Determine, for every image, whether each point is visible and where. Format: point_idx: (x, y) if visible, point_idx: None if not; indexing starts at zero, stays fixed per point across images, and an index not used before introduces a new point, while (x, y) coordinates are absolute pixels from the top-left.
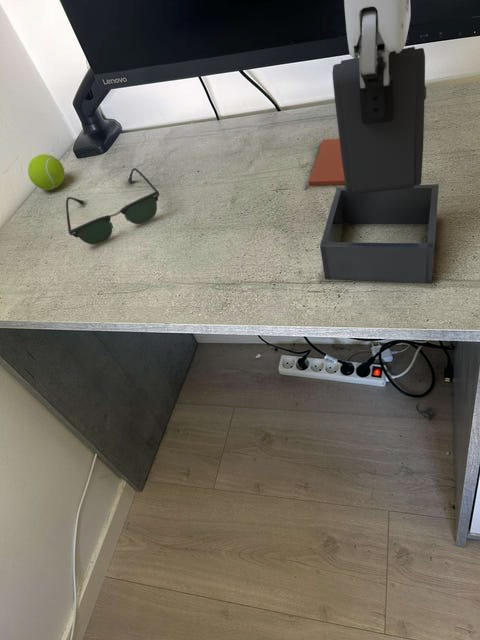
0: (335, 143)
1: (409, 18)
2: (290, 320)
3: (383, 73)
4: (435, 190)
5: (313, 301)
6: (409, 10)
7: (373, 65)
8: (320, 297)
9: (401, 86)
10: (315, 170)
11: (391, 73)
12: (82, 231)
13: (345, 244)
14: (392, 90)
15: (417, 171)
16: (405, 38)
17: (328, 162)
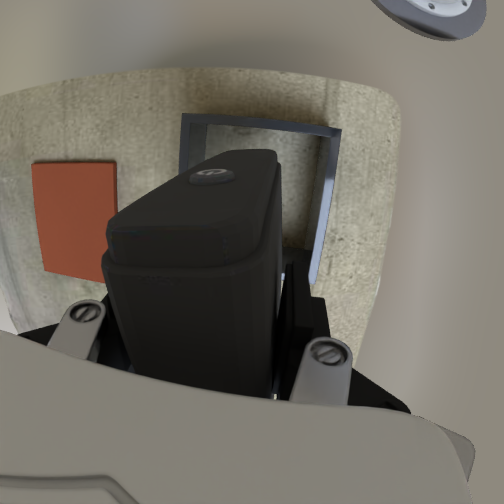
0: (49, 256)
1: (31, 366)
2: (369, 288)
3: (389, 401)
4: (198, 118)
5: (345, 267)
6: (9, 395)
7: (471, 461)
8: (340, 260)
9: (272, 278)
10: (98, 278)
11: (267, 341)
12: None
13: (317, 251)
14: (312, 312)
15: (276, 160)
16: (316, 425)
17: (82, 263)
